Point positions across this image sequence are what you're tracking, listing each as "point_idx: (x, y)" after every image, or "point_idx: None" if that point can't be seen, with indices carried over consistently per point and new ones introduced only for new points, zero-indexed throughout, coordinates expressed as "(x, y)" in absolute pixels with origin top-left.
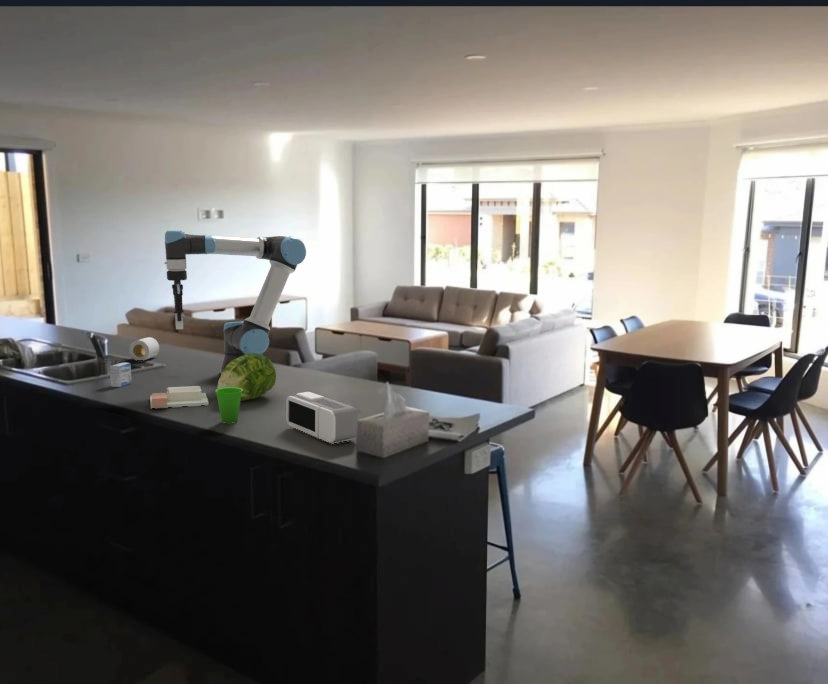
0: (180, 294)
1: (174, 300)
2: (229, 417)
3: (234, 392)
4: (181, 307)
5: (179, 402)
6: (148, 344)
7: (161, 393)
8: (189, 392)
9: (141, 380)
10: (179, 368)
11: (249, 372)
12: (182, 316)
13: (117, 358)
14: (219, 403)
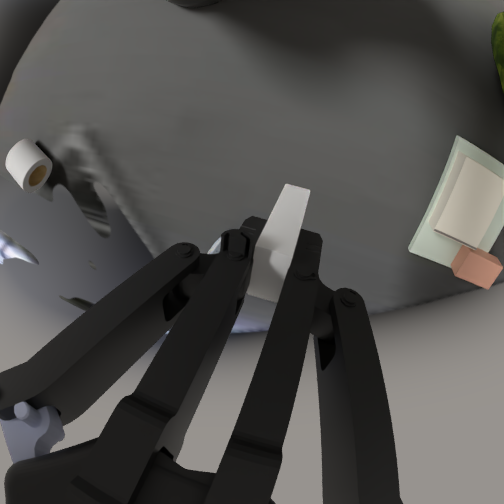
0: (388, 501)
1: (142, 354)
2: None
3: None
4: (368, 341)
5: (493, 227)
6: (27, 165)
7: (470, 261)
8: (496, 207)
9: (205, 201)
10: (107, 100)
11: None
12: (296, 237)
13: (41, 196)
14: None
